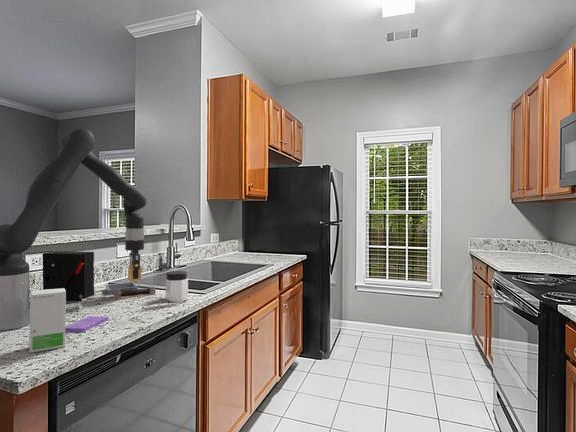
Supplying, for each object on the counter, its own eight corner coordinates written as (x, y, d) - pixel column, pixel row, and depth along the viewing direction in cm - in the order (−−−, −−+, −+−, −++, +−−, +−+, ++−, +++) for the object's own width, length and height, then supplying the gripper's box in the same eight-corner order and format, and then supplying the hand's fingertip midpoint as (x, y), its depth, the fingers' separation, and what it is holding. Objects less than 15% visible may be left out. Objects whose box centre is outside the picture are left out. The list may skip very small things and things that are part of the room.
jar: (188, 298, 152) (188, 270, 152) (187, 302, 144) (187, 273, 144) (166, 299, 150) (166, 271, 150) (164, 304, 142) (164, 274, 142)
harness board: (152, 292, 162) (152, 284, 162) (156, 297, 153) (156, 288, 153) (112, 297, 153) (112, 288, 153) (115, 302, 145) (115, 293, 145)
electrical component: (97, 296, 154) (97, 251, 154) (81, 302, 144) (81, 254, 144) (60, 295, 156) (59, 250, 156) (41, 301, 146) (41, 253, 146)
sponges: (62, 333, 110) (62, 327, 110) (89, 320, 123) (89, 315, 123) (83, 334, 109) (83, 328, 109) (108, 321, 122) (108, 315, 122)
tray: (137, 294, 159) (137, 286, 159) (108, 297, 153) (108, 289, 153) (133, 289, 169) (133, 282, 169) (105, 292, 163) (105, 284, 163)
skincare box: (29, 353, 93) (28, 295, 93) (29, 346, 98) (29, 290, 98) (66, 346, 98) (66, 291, 98) (65, 339, 103) (64, 286, 103)
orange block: (141, 280, 152) (141, 266, 152) (129, 281, 149) (129, 267, 149) (139, 278, 156) (139, 265, 156) (128, 279, 154) (128, 265, 154)
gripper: (123, 238, 157) (123, 275, 157) (127, 240, 145) (127, 281, 145) (141, 237, 161) (141, 274, 161) (146, 239, 149) (146, 279, 149)
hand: (134, 277), depth 153 cm, fingers closed on orange block, 5 cm apart
